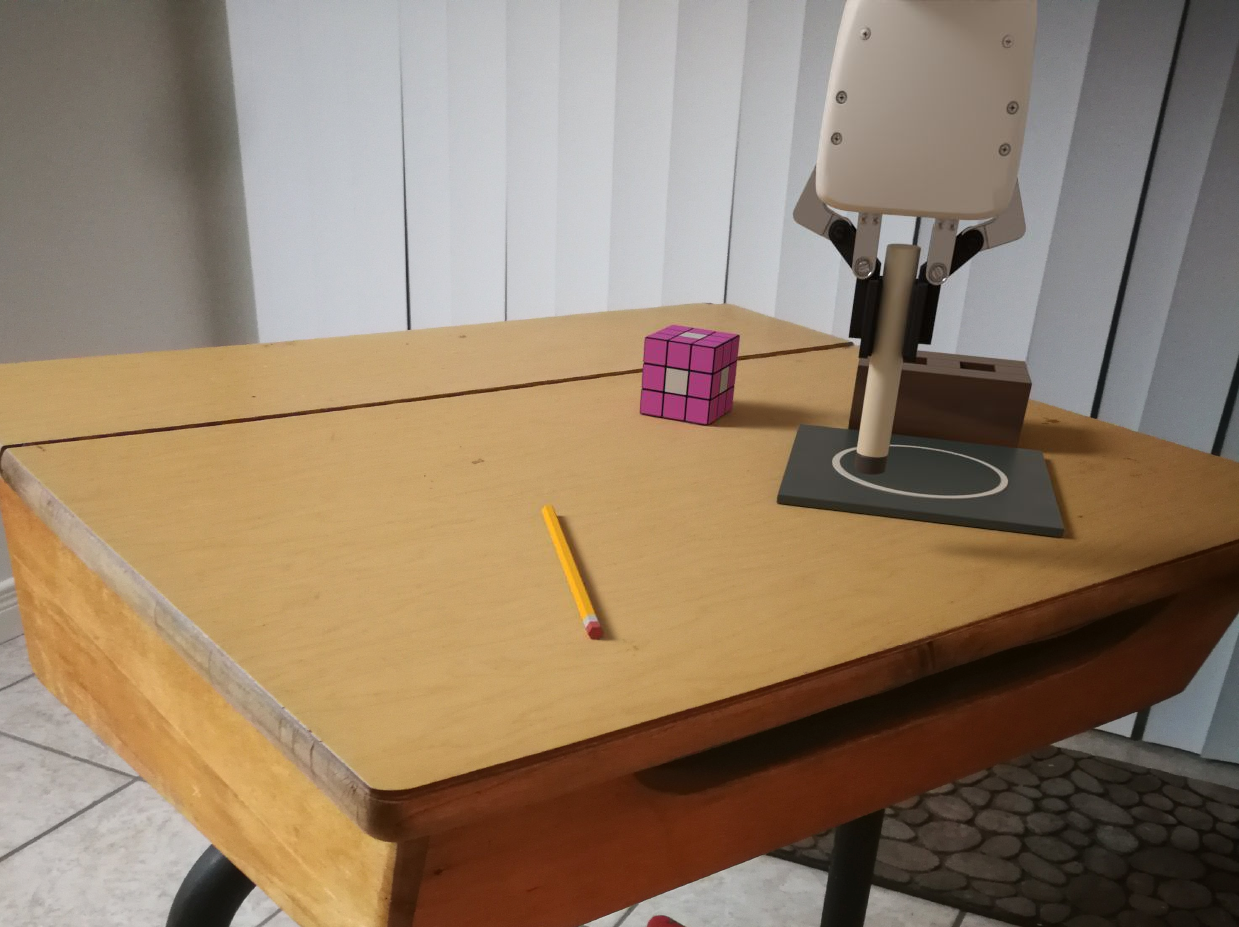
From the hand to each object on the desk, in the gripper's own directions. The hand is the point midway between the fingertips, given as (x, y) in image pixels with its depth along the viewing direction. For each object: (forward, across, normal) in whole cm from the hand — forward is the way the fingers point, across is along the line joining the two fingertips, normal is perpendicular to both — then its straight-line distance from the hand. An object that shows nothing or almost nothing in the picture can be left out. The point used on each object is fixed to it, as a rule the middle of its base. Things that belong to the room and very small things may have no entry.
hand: (887, 352), depth 71 cm
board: (+11, -4, -15) cm, 19 cm away
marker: (+7, 0, 0) cm, 7 cm away
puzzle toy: (+11, +14, -26) cm, 32 cm away
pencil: (+11, +16, +10) cm, 22 cm away
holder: (+11, -4, -29) cm, 31 cm away
